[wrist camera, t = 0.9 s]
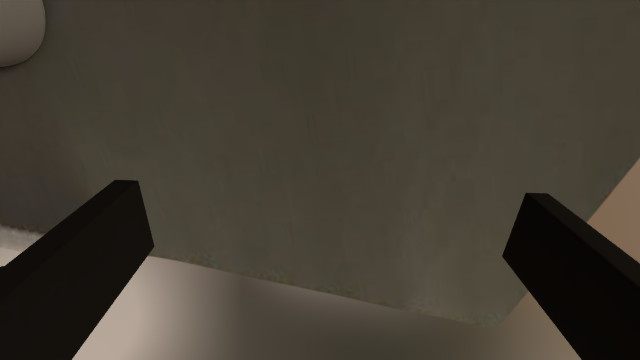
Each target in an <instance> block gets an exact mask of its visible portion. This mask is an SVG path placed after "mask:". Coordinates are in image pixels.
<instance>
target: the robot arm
mask: <svg viewBox="0 0 640 360" xmlns="http://www.w3.org/2000/svg"><path fill="white" fill-rule="evenodd" d="M153 248H154V243H153V239H152V235H151V231H150V227H149V223H148V219H147V215H146V211H145V206H144V202H143V198H142V194H141V190H140V186H139V182H138V181H133V180H114V181H113V182H112V183H110V184H109V185H108V186H107V187H105V188H104V189H103V190H101V191H100V192H99V193H98V194H96V195H95V196H94V197H92V198H91V199H90V200H89V201H87V202H86V203H85V204H84V205H82V206H81V207H80V208H78V209H77V210H76V211H75V212H73V213H72V214H71V215H69V216H68V217H67V218H66V219H64V220H63V221H62V222H60V223H59V224H58V225H57V226H55V227H54V228H53V229H52V230H50V231H49V232H48V233H46V234H45V235H44V236H43V237H41V238H40V239H39V240H37V241H36V242H35V243H34V244H32V245H31V246H30V247H28V248H27V249H26V250H25V251H23V252H22V253H21V254H20V255H18V256H17V257H16V258H14V259H13V260H12V261H11V262H9V263H8V264H7V265H6V266H2V267H0V360H72V358H73V357H74V356H75V354H76V353H77V352H78V350H79V349H80V347H81V346H82V345H83V343H84V342H85V341H86V339H87V338H88V337H89V335H90V334H91V332H92V331H93V330H94V328H95V327H96V326H97V324H98V323H99V321H100V320H101V319H102V317H103V316H104V315H105V313H106V312H107V311H108V309H109V308H110V306H111V305H112V304H113V302H114V301H115V299H116V298H117V297H118V296H119V294H120V293H121V291H122V290H123V289H124V287H125V286H126V285H127V283H128V282H129V280H130V279H131V278H132V276H133V275H134V274H135V272H136V271H137V270H138V268H139V266H140V265H141V264H142V263H143V261H144V260H145V259H146V257H147V256H148V255H149V253H150V252H151V250H152V249H153ZM502 257H503V258H504V259H505V261H506V262H507V263H508V265H509V266H510V267H511V268H512V270H513V271H514V272H515V274H516V275H517V276H518V278H519V279H520V280H521V281H522V283H523V284H524V285H525V287H526V288H527V289H528V291H529V292H530V293H531V294H532V296H533V297H534V298H535V300H536V301H537V302H538V304H539V305H540V306H541V307H542V309H543V310H544V311H545V313H546V314H547V315H548V316H549V318H550V319H551V320H552V322H553V323H554V324H555V325H556V327H557V328H558V329H559V331H560V332H561V333H562V335H563V336H564V337H565V338H566V340H567V341H568V342H569V344H570V345H571V346H572V348H573V349H574V350H575V351H576V353H577V354H578V355H579V357H580V358H581V359H582V360H640V264H639V263H638V262H637V261H635V260H634V259H633V258H632V257H630V256H629V255H628V254H626V253H625V252H624V251H623V250H621V249H620V248H619V247H617V246H616V245H615V244H613V243H612V242H611V241H609V240H608V239H607V238H606V237H604V236H603V235H602V234H600V233H599V232H598V231H596V230H595V229H594V228H592V227H591V226H590V225H588V224H587V223H586V222H585V221H583V220H582V219H581V218H579V217H578V216H577V215H575V214H574V213H573V212H571V211H570V210H569V209H567V208H566V207H565V206H564V205H562V204H561V203H560V202H558V201H557V200H556V199H554V198H553V197H552V196H550V195H549V194H545V193H526V194H525V196H524V199H523V202H522V204H521V207H520V210H519V212H518V215H517V218H516V220H515V223H514V226H513V228H512V231H511V234H510V237H509V239H508V242H507V245H506V247H505V250H504V253H503V255H502Z"/></svg>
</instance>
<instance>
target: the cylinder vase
mask: <svg viewBox="0 0 640 360" xmlns="http://www.w3.org/2000/svg"><path fill="white" fill-rule="evenodd" d="M45 27H46V17H45V10H44V5H43V1H42V0H0V67H5V66H11V65H16V64H19V63H21V62H24V61H26V60H27V59H29V58H30V57H31V56H32V55H34V54H35V52H36V51H37V50H38V49H39V47H40V45H41V43H42V41H43V38H44V34H45Z"/></svg>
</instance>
